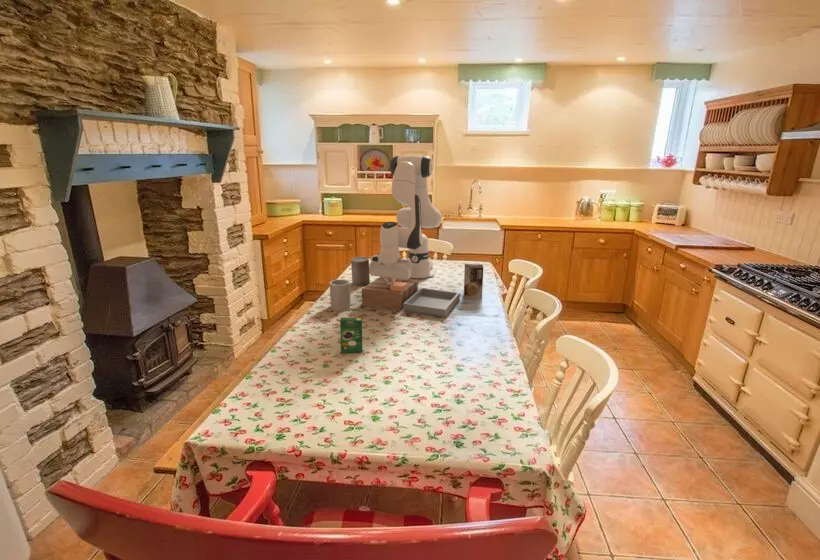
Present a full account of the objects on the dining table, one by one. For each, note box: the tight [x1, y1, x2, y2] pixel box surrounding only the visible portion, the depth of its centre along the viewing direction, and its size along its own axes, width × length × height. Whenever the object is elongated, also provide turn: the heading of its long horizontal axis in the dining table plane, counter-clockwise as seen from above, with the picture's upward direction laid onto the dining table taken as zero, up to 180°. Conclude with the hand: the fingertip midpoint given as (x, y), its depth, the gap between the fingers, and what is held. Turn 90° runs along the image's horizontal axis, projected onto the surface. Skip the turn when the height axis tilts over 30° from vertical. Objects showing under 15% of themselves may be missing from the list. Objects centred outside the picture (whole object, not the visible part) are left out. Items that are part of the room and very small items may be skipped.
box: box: [402, 287, 461, 319], centre depth 199 cm, size 24×20×4 cm
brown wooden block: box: [361, 276, 419, 311], centre depth 206 cm, size 22×20×8 cm
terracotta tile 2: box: [388, 278, 403, 282], centre depth 209 cm, size 6×6×2 cm
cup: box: [329, 278, 352, 311], centre depth 197 cm, size 9×9×12 cm
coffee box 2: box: [463, 263, 484, 300], centre depth 210 cm, size 9×6×16 cm
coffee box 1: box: [339, 317, 363, 354], centre depth 154 cm, size 8×3×13 cm, turn 93°
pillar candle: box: [350, 256, 371, 287], centre depth 230 cm, size 10×10×15 cm
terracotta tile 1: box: [390, 282, 407, 292], centre depth 198 cm, size 6×6×2 cm
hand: (390, 286), depth 200 cm, fingers closed
